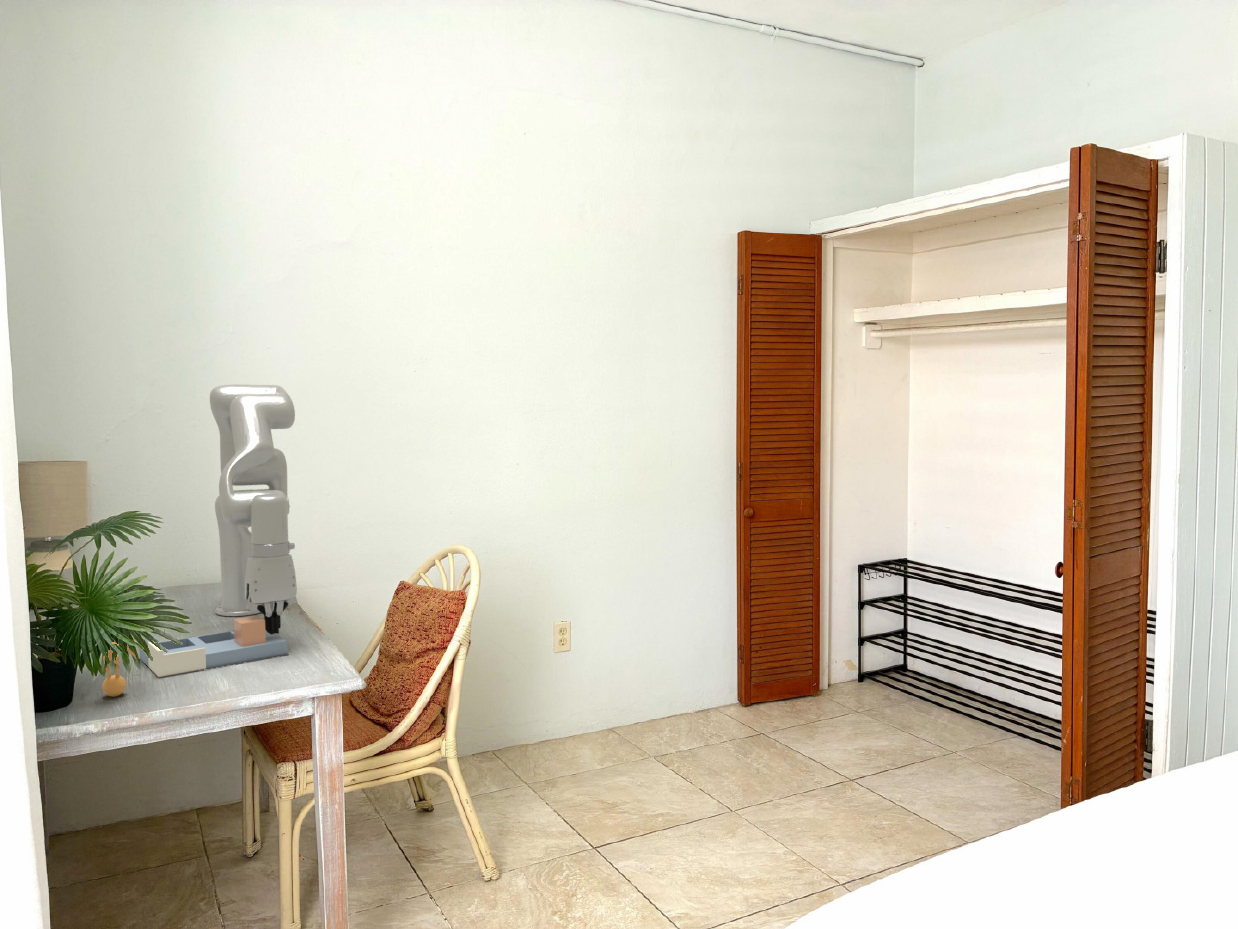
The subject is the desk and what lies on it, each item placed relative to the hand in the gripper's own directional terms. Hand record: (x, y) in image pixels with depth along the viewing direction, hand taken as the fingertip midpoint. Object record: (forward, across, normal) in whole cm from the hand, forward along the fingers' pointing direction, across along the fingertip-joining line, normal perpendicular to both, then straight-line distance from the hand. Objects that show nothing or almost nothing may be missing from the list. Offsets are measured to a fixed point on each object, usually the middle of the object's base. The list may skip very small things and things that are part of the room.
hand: (272, 632), depth 203 cm
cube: (+1, +5, 0) cm, 5 cm away
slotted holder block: (+4, +11, -4) cm, 13 cm away
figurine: (+5, +34, +11) cm, 36 cm away
